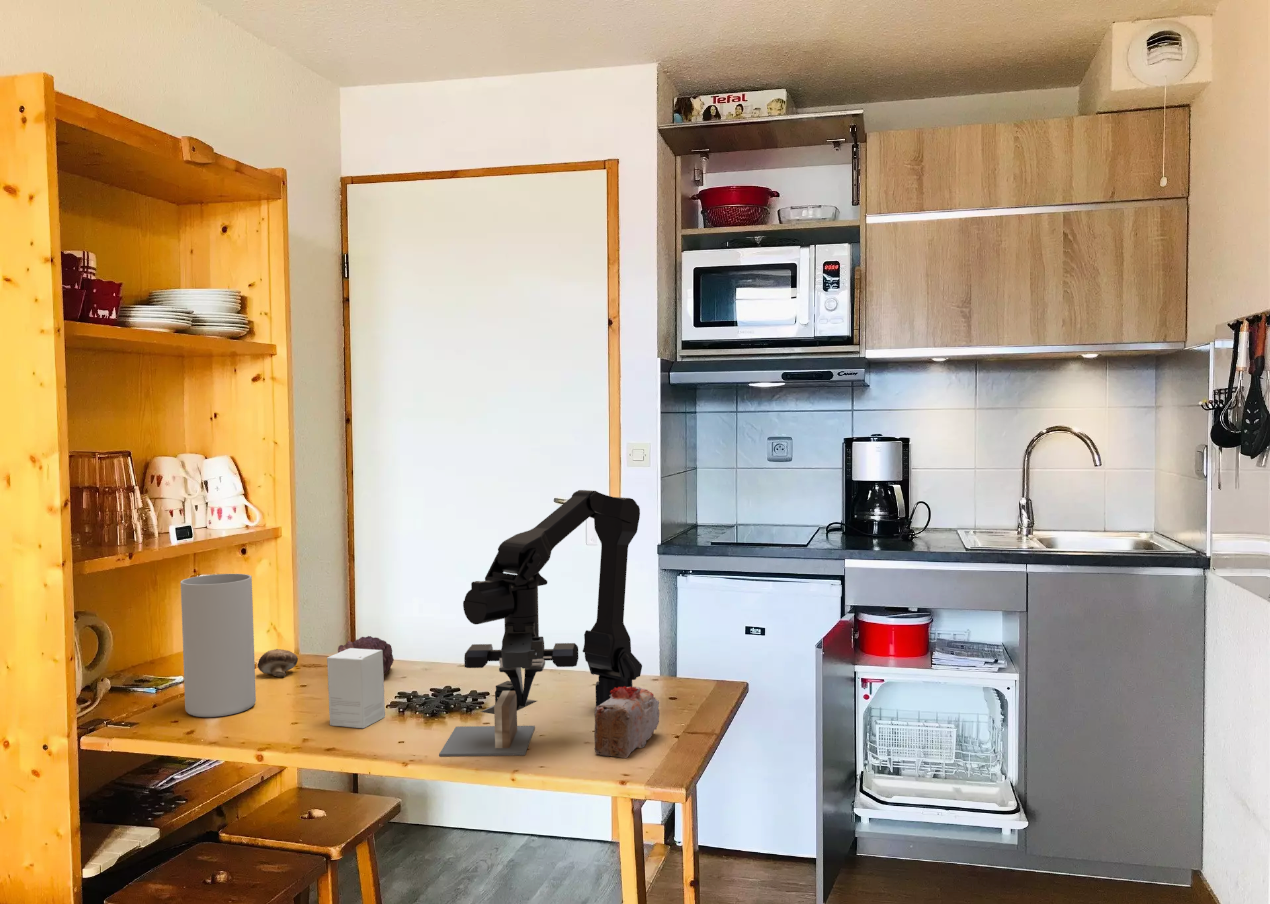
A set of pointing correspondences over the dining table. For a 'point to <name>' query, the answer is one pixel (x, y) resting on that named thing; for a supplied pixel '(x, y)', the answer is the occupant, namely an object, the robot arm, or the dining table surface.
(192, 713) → the cylinder vase
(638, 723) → the food item
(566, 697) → the dining table surface
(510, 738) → the tile
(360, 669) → the supplement box
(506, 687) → the black angular block
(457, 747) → the mat
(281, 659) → the mushroom
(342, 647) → the pine cone
